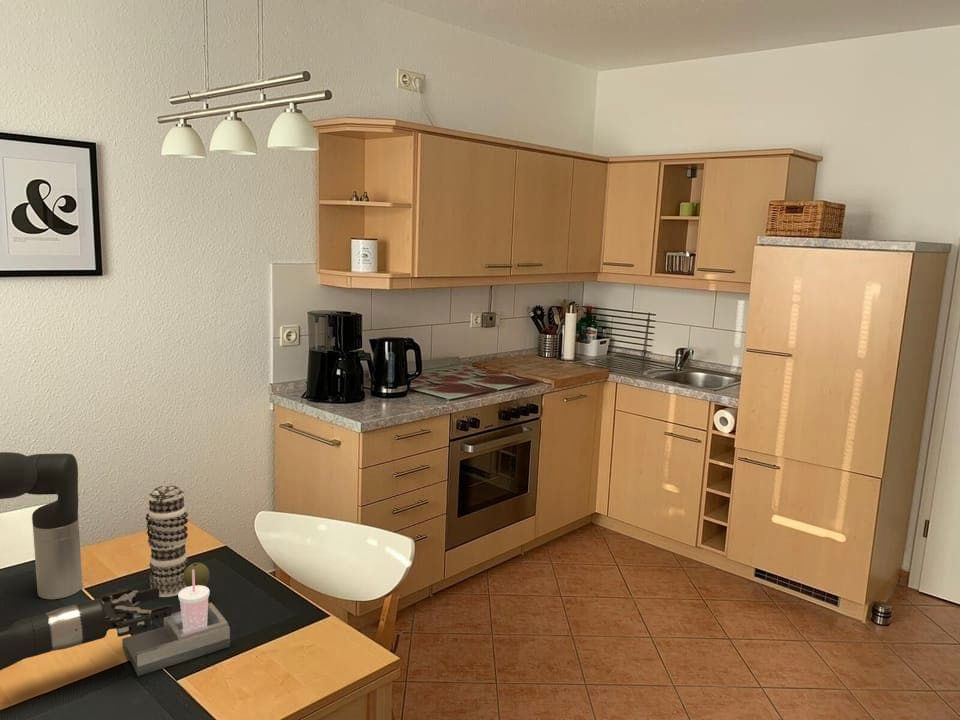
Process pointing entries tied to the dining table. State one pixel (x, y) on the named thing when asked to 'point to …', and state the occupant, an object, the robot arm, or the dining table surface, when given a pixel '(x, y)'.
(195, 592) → the beverage cup
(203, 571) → the light bulb
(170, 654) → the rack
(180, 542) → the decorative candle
